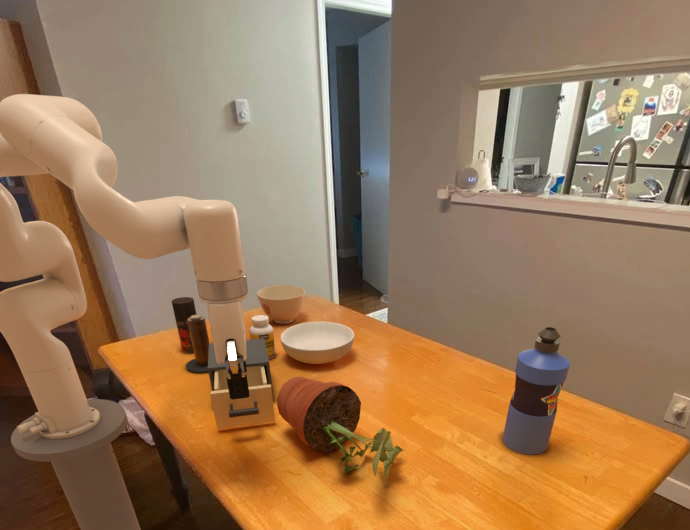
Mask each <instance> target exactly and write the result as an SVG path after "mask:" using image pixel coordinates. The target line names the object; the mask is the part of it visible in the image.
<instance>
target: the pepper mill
mask: <svg viewBox="0 0 690 530" xmlns="http://www.w3.org/2000/svg"><path fill="white" fill-rule="evenodd" d="M187 321H188V325H189V330H190V335H191V340H192V345H193V350H194V353H193V354H194V359H195V360H196V364H197V366H199V367H206V366H208V354H209V344H210V339H209V334H208V329H207V322H206V318H205V316H202V315H201V314H197V315H193V316H191V317H190V318H188V319H187Z"/></svg>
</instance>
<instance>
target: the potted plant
mask: <svg viewBox="0 0 690 530" xmlns="http://www.w3.org/2000/svg"><path fill="white" fill-rule="evenodd" d="M276 407H277V410H278V414H279V415H280V417H281V418H282V419H283V420H284V421H285V422H286V423H287V424H288V425H290V426H291V427H292V428H293V429H294V430H295V431H296V434H297V436H298V438H299V439H300V441H301V442H302V443H303V444H305V445H306V446H308V447H309V448H311V449H313V450H314V451H315V452H319V453H329V452H333V451H335V450H337V449H339V448H340V450H341V452H342V454H344V456H343V457H341V459H340V464H341V463H344V466H345V467H344V473H345V474H347V473H349V472H351V471H352V470H354V469H356V468H357V467H359V465H358V463H357V464H355V465H354V466H349V465H347V464H348V463H349V461H350V462H351V463H353V460H352V459H353V458H355V457H357V456H359V457H360V458H362V457H364V455H365V453H366V452H367V451H368V449H369V448H370V451H369V453H368V455H370V454H371V453H374V452H375V454H374V456H373V458H372V462H371V464H372V465H371V466H372V472H373V476H374V477H376V476H377V472H378V468H379V463H380V462H381V463H383V469H384V470H383V474H384V476H385V478H386V480H387V481H389V475H390V471H391V469H392V466H393V464H394V461H395V459H396V458H397V456H398V455H399V454H401V452H404V449H403V448H401V447H400V446H399V445H395V446H394V443H393V441H392V437H391V433H392V432H391V431H389V430H387V429H386V428H384V427H381V429H379V430H378V431H377V433H376V434H375V435H374V436H373V438H369V437H366V436H361V435H357V434H356V433H354V432H355V431H356V429H357V427H358V425H359V421H360V417H361V411H362V410H361V408H362V401H361V400H360V397H359V395H358V394H357V393H356V391H355V390H354V389H352V388H351V387H349V386H347V385H345V384H342V383H339V382H336V381H330V382H327V381H326V382H323V381H319V380H315V379H312V378H307V377H304V376H294V377H291V378H290V379H288V380H286V381H285V382H284V383H283V384H282V385H281V387H280V389H279V392H278V394H277V398H276ZM353 438H354V439H356V440H357V441H359V442H361V443H363V444H364V449H362V448H361V447H360V446H359V444H358V443H356V442H355V440H354V439H353ZM348 441H350V442H352V443H353V444H354V445H355V446H349V452H348V451H347V449H345V448H344V446H343V445H345V444H346V443H347V442H348ZM368 442H369V443H368ZM356 447H357V449H359V450H356ZM355 450H356V452H355ZM354 452H355V453H354ZM353 453H354V454H353Z"/></svg>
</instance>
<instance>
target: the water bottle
mask: <svg viewBox="0 0 690 530" xmlns="http://www.w3.org/2000/svg"><path fill="white" fill-rule="evenodd" d="M537 335H538V337H536V339H535V343H534V348H533V349H532V348H531V349H526V350H522V351H521V352H519V353H518V354H517V359H516V363H515V369H514V372H515V381H514V390H513V393H512V395H511V398H510V401H509V405H508V410H507V414H506V418H505V425H504V429H503V435H502V442H503V444H504V445H505V446H506V447H507V448H508V449H510V450H512V451H514V452H516V453H518V454H522V455H530V456H532V455H533V456H534V455H540V454H542V453H544V452H545V451H547V449H548V446H549V443H550V438H551V435H552V431H553V427H554V425H555V424H554V423H555V419H556V416H557V412H558V402H559V401H558V400H559V395H560V393H561V390H562V388H563V385H564V383H565V382H566V380H567V377H568V374H569V370H570V366H571V361H570V359H569V358H568V357H566V356H564V355H563V354H561V353H559V352H558V351H559V349H560V345H561V341H560V340H559V339H560V338H561V334H560V333H559V331H558V330H557V329H556V328H555V327H551V326H548V327H545V328H543V329H542V330H540V331H539V332H538V333H537Z"/></svg>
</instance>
